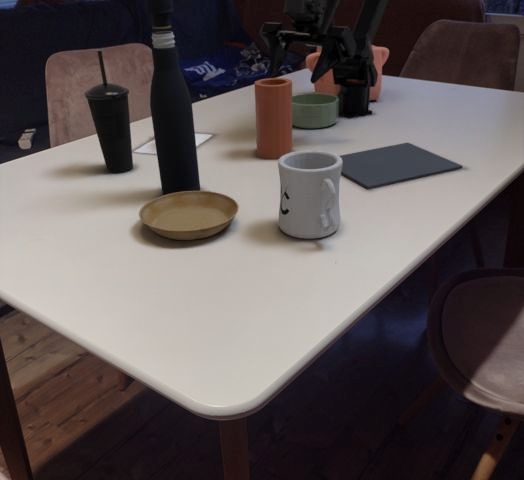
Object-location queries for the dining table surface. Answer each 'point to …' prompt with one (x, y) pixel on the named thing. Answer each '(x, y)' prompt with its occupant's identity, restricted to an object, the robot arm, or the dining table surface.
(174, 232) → the plant saucer
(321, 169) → the mug
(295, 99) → the sage bowl
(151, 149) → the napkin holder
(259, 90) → the terracotta jar
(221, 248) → the dining table surface
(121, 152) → the drinking cup
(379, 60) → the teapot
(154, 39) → the wine bottle
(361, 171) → the felt mat
